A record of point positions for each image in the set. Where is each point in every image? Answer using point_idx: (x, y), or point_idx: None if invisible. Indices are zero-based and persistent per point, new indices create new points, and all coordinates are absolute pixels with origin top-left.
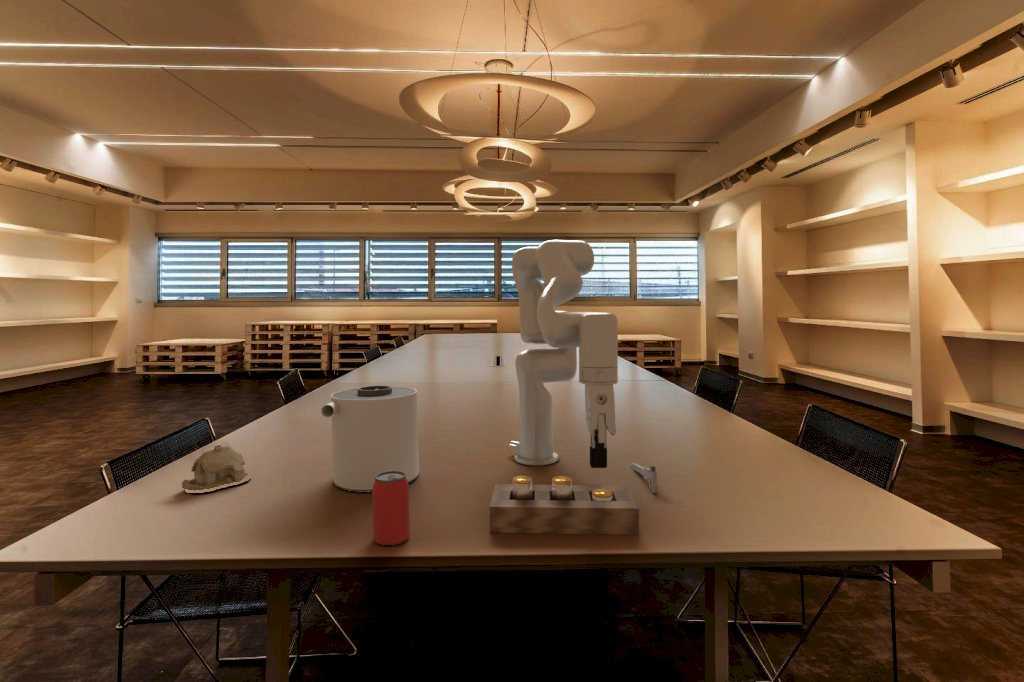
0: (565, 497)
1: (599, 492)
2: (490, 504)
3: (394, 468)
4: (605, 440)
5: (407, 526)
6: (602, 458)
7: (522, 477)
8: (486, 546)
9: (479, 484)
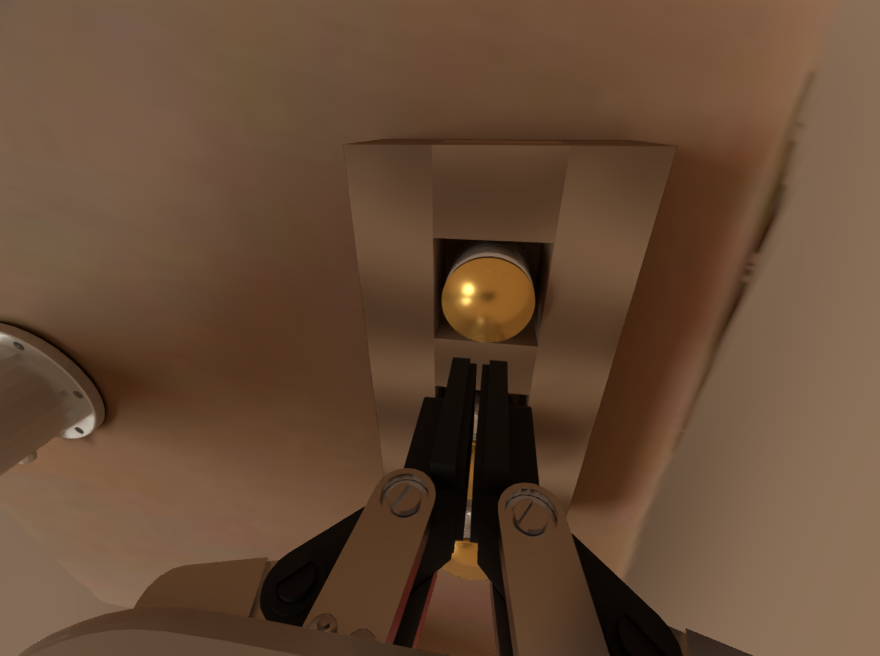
0: None
1: (487, 314)
2: None
3: None
4: (661, 642)
5: None
6: (533, 438)
7: (452, 559)
8: (609, 517)
9: (281, 503)
